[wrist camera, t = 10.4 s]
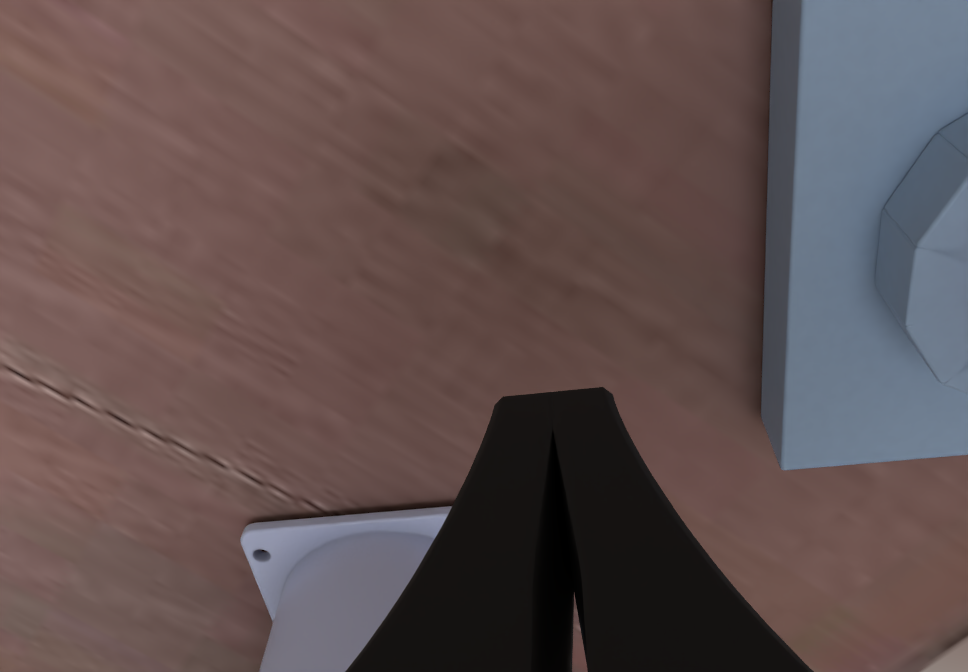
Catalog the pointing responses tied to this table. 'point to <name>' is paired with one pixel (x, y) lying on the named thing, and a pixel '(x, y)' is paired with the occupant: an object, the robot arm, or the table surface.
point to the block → (867, 232)
